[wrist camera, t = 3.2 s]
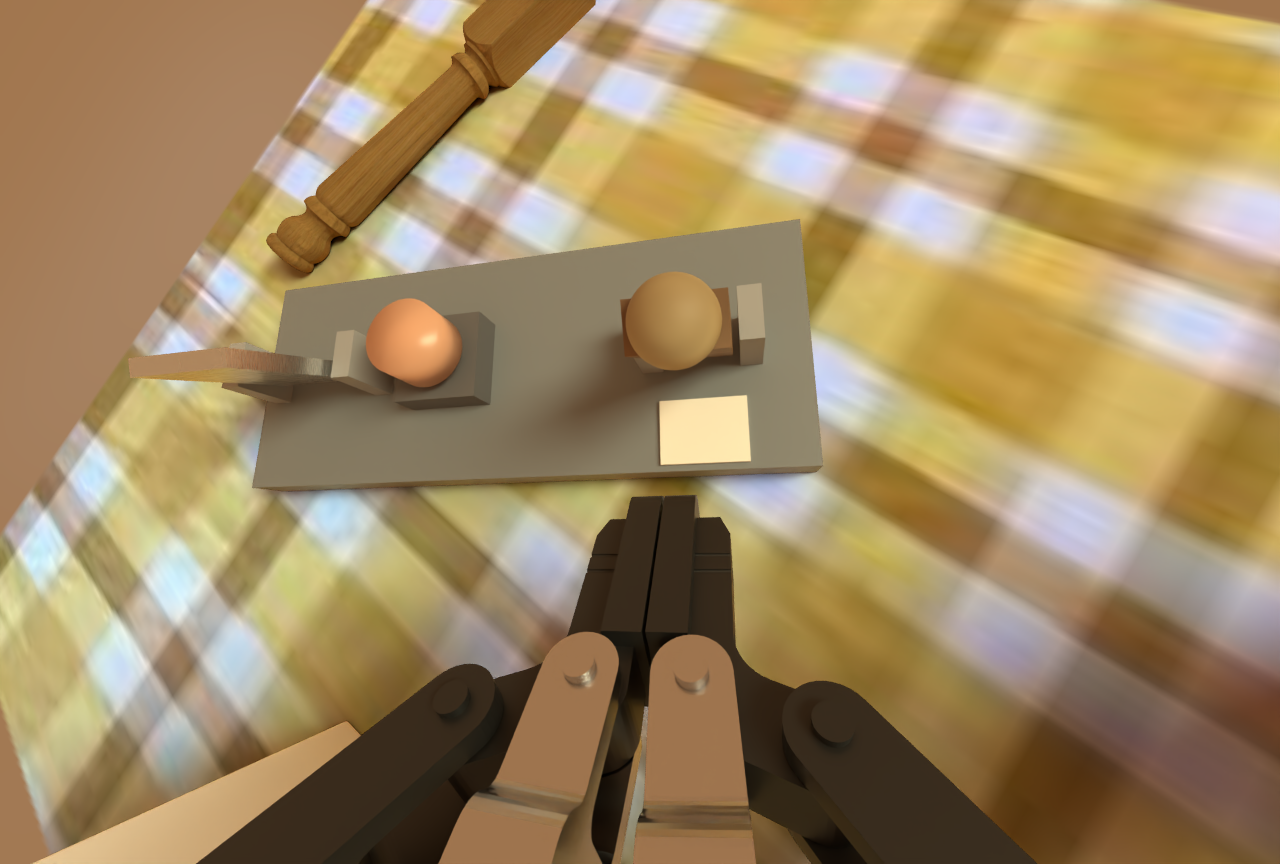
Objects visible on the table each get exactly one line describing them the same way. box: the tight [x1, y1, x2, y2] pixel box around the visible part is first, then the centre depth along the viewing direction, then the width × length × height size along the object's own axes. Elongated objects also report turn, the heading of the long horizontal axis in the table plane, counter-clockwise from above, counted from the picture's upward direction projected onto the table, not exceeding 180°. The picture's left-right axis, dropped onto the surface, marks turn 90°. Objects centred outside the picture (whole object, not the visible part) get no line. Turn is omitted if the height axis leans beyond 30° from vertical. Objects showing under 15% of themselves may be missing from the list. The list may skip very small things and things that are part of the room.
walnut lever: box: [620, 272, 733, 370], centre depth 17 cm, size 3×3×11 cm
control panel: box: [222, 219, 823, 491], centre depth 24 cm, size 12×30×5 cm, turn 91°
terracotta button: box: [366, 298, 462, 387], centre depth 22 cm, size 4×4×2 cm
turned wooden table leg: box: [266, 0, 596, 273], centre depth 31 cm, size 3×3×30 cm
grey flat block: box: [128, 347, 338, 386], centre depth 23 cm, size 1×5×7 cm, turn 89°
